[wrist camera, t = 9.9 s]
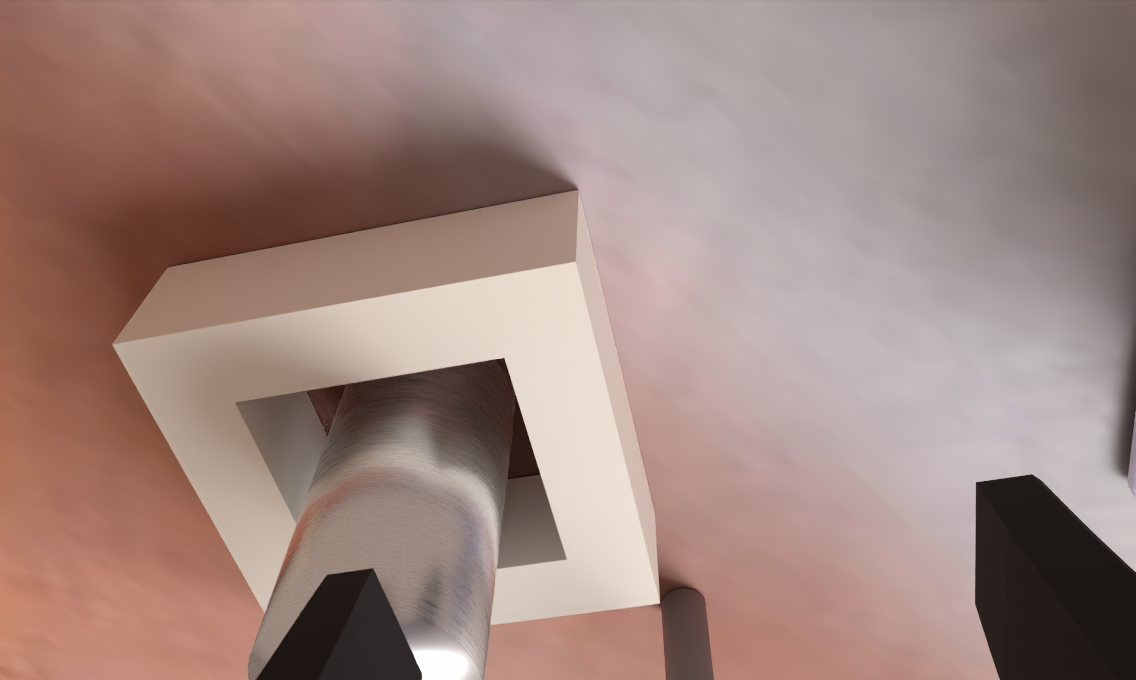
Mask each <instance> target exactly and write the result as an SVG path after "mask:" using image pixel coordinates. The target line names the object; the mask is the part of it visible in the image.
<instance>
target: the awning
mask: <svg viewBox="0 0 1136 680" xmlns="http://www.w3.org/2000/svg"><path fill="white" fill-rule="evenodd" d="M661 608H662V623H663V639H664V655H665V671H666V680H714V677H713V668H712V659H711V650H710V641H709V632H708V622H707V613H706V604H705V599H704V597H703V596H702V595H701V594H700V593H699V592H697V591H695V590H692V589H687V588H681V589H675V590H672V591H670V592H669V593H667V594H666V595H665V596H664V597H663V599H662V602H661Z"/></svg>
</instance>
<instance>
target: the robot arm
mask: <svg viewBox="0 0 1136 680" xmlns="http://www.w3.org/2000/svg"><path fill="white" fill-rule="evenodd" d="M1128 486H1129V488H1130V490H1131V491H1132V493H1133V494H1134V496H1135V497H1136V412H1135V421H1134V430H1133V438H1132V447H1131V455H1130V464H1129V472H1128ZM975 605H976V608H977V611H978V614H979V617H980V620H981V624H982V627H983V630H984V633H985V636H986V639H987V642H988V646H989V649H990V652H991V655H992V658H993V661H994V664H995V667H996V670H997V673H998V676H999V679H1000V680H1136V572H1135V571H1134V570H1133V569H1131V568H1130V567H1129V566H1128V565H1127V564H1126V563H1125V562H1124V561H1123V560H1122V559H1121V558H1120V557H1119V556H1117V555H1116V554H1115V553H1114V552H1113V551H1112V550H1111V549H1110V548H1109V547H1108V546H1107V545H1106V544H1105V543H1104V542H1103V541H1102V540H1101V539H1100V538H1098V537H1097V536H1096V535H1095V534H1094V533H1093V532H1092V531H1091V530H1090V529H1089V528H1088V527H1087V526H1086V525H1085V524H1084V523H1083V522H1082V521H1081V520H1080V519H1079V518H1078V517H1077V516H1076V515H1075V514H1074V513H1073V512H1072V511H1071V510H1070V509H1069V508H1068V507H1067V506H1066V505H1065V504H1064V503H1063V502H1062V501H1061V500H1060V499H1059V498H1058V497H1057V496H1056V495H1055V494H1054V493H1053V492H1052V491H1051V490H1050V489H1049V488H1048V487H1047V486H1046V485H1045V484H1044V483H1043V482H1042V481H1041V480H1040V479H1038V478H1037V477H1035V476H1034V475H1025V476H1018V477H1011V478H1004V479H997V480H990V481H983V482H976V566H975ZM256 680H422V672H421V670H420V667H419V665H418V663H417V661H416V659H415V657H414V655H413V652H412V650H411V648H410V646H409V644H408V642H407V640H406V637H405V635H404V633H403V631H402V629H401V627H400V625H399V622H398V620H397V618H396V616H395V614H394V612H393V609H392V607H391V605H390V603H389V601H388V599H387V597H386V594H385V592H384V590H383V588H382V586H381V584H380V582H379V579H378V577H377V575H376V573H375V571H374V569H373V568H370V569H363V570H356V571H349V572H342V573H335V574H328V575H326V577H325V578H324V579H323V581H322V582H321V584H320V585H319V587H318V588H317V589H316V591H315V592H314V594H313V595H312V597H311V598H310V600H309V601H308V603H307V604H306V605H305V607H304V608H303V610H302V611H301V613H300V614H299V616H298V617H297V619H296V620H295V622H294V623H293V625H292V626H291V628H290V629H289V631H288V632H287V634H286V635H285V637H284V638H283V640H282V641H281V643H280V644H279V646H278V647H277V649H276V650H275V652H274V653H273V655H272V656H271V658H270V659H269V661H268V662H267V664H266V665H265V667H264V668H263V670H262V671H261V673H260V674H259V675H258V677H257V678H256Z"/></svg>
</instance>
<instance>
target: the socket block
mask: <svg viewBox="0 0 1136 680" xmlns="http://www.w3.org/2000/svg"><path fill="white" fill-rule="evenodd" d="M112 345H113V347H114V349H115V351H116V352H117V354H118V356H119V358H120V359H121V361H122V363H123V365H124V367H125V368H126V370H127V372H128V374H129V375H130V377H131V379H132V381H133V382H134V384H135V386H136V388H137V389H138V391H139V393H140V395H141V396H142V398H143V400H144V402H145V403H146V405H147V407H148V409H149V411H150V412H151V414H152V416H153V418H154V419H155V421H156V423H157V425H158V426H159V428H160V430H161V432H162V433H163V435H164V437H165V439H166V440H167V442H168V444H169V446H170V447H171V449H172V451H173V453H174V454H175V456H176V458H177V460H178V462H179V463H180V465H181V467H182V469H183V470H184V472H185V474H186V476H187V477H188V479H189V481H190V483H191V484H192V486H193V488H194V490H195V491H196V493H197V495H198V497H199V498H200V500H201V502H202V504H203V506H204V507H205V509H206V511H207V513H208V514H209V516H210V518H211V520H212V521H213V523H214V525H215V527H216V528H217V530H218V532H219V534H220V535H221V537H222V539H223V541H224V542H225V544H226V546H227V548H228V550H229V551H230V553H231V555H232V557H233V558H234V560H235V562H236V564H237V565H238V567H239V569H240V571H241V572H242V574H243V576H244V578H245V579H246V581H247V583H248V585H249V586H250V588H251V590H252V592H253V593H254V595H255V597H256V599H257V601H258V602H259V604H260V606H261V608H262V609H263V611H264V613H265V612H266V609H267V606H268V603H269V601H270V598H271V595H272V592H273V589H274V586H275V584H276V581H277V578H278V575H279V572H280V569H281V567H282V564H283V561H284V558H285V555H286V552H287V550H288V547H289V544H290V541H291V538H292V535H293V533H294V530H295V527H296V524H297V521H298V519H299V516H300V513H301V510H302V507H303V504H304V502H305V499H306V496H307V493H308V490H309V487H310V485H311V482H312V479H313V476H314V473H315V470H316V468H317V465H318V462H319V459H320V456H321V453H322V451H323V448H324V445H325V442H326V439H327V435H326V433H325V430H324V428H323V426H322V424H321V422H320V419H319V417H318V415H317V413H316V410H315V408H314V406H313V404H312V402H311V399H310V397H309V395H308V393H307V391H308V390H314V389H320V388H326V387H332V386H338V385H344V384H350V383H356V382H362V381H368V380H374V379H380V378H386V377H392V376H398V375H404V374H410V373H416V372H422V371H428V370H434V369H440V368H446V367H452V366H458V365H464V364H470V363H476V362H482V361H488V360H494V359H500V358H505V362H506V365H507V368H508V371H509V374H510V378H511V381H512V384H513V387H514V391H515V394H516V397H517V400H518V403H519V407H520V410H521V413H522V416H523V419H524V423H525V426H526V429H527V432H528V436H529V439H530V442H531V445H532V448H533V452H534V455H535V458H536V461H537V465H538V468H539V471H540V474H541V475H534V476H527V477H520V478H514V479H507V484H506V493H505V502H504V510H503V519H502V528H501V536H500V545H499V554H498V562H497V571H496V580H495V588H494V597H493V605H492V614H491V623H490V625H495V624H503V623H511V622H519V621H527V620H535V619H543V618H550V617H558V616H566V615H574V614H582V613H590V612H598V611H605V610H613V609H621V608H629V607H637V606H645V605H653V604H660V593H659V577H658V561H657V545H656V529H655V513H654V508H653V504H652V500H651V495H650V491H649V487H648V483H647V478H646V474H645V470H644V465H643V461H642V457H641V453H640V448H639V444H638V440H637V436H636V431H635V427H634V423H633V418H632V414H631V410H630V406H629V401H628V397H627V393H626V389H625V384H624V380H623V376H622V372H621V367H620V363H619V359H618V354H617V350H616V346H615V342H614V337H613V333H612V329H611V325H610V320H609V316H608V312H607V307H606V303H605V299H604V295H603V290H602V286H601V282H600V278H599V273H598V269H597V265H596V260H595V256H594V252H593V248H592V243H591V239H590V235H589V231H588V226H587V222H586V218H585V213H584V209H583V205H582V201H581V196H580V192H579V190H575V191H569V192H564V193H559V194H554V195H548V196H543V197H538V198H532V199H527V200H522V201H517V202H511V203H506V204H501V205H495V206H490V207H485V208H480V209H474V210H469V211H464V212H458V213H453V214H448V215H443V216H437V217H432V218H427V219H421V220H416V221H411V222H406V223H400V224H395V225H390V226H384V227H379V228H374V229H369V230H363V231H358V232H353V233H347V234H342V235H337V236H331V237H326V238H321V239H316V240H310V241H305V242H300V243H294V244H289V245H284V246H279V247H273V248H268V249H263V250H257V251H252V252H247V253H242V254H236V255H231V256H226V257H220V258H215V259H210V260H205V261H199V262H194V263H189V264H183V265H178V266H173V267H168V268H167V269H166V270H165V272H164V273H163V275H162V276H161V277H160V279H159V280H158V282H157V283H156V284H155V286H154V287H153V288H152V290H151V291H150V293H149V294H148V295H147V297H146V298H145V300H144V301H143V302H142V304H141V305H140V306H139V308H138V309H137V311H136V312H135V313H134V315H133V316H132V318H131V319H130V320H129V322H128V323H127V324H126V326H125V327H124V329H123V330H122V331H121V333H120V334H119V336H118V337H117V338H116V340H115V341H114V342H113V344H112Z"/></svg>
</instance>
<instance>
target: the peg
mask: <svg viewBox="0 0 1136 680" xmlns="http://www.w3.org/2000/svg"><path fill="white" fill-rule="evenodd" d="M514 415H515V394H514V390H513V386H512V383H511V381H510V379H509V377H508V375H507V373H506V372H505V370H504V369H503V367H502V366H501V365H500V364H499V362H498V361H497V360H496V359H494V360H488V361H482V362H476V363H470V364H464V365H458V366H452V367H446V368H440V369H434V370H428V371H422V372H416V373H410V374H404V375H398V376H392V377H386V378H380V379H374V380H368V381H362V382H356V383H350V384H346V386H345V388H344V391H343V394H342V397H341V400H340V403H339V405H338V408H337V411H336V414H335V417H334V420H333V422H332V425H331V428H330V431H329V434H328V436H327V439H326V442H325V445H324V448H323V451H322V453H321V456H320V459H319V462H318V465H317V468H316V470H315V473H314V476H313V479H312V482H311V485H310V487H309V490H308V493H307V496H306V499H305V502H304V504H303V507H302V510H301V513H300V516H299V519H298V521H297V524H296V527H295V530H294V533H293V535H292V538H291V541H290V544H289V547H288V550H287V552H286V555H285V558H284V561H283V564H282V567H281V569H280V572H279V575H278V578H277V581H276V584H275V586H274V589H273V592H272V595H271V598H270V601H269V603H268V606H267V609H266V612H265V615H264V617H263V620H262V623H261V626H260V629H259V632H258V634H257V637H256V640H255V643H254V646H253V649H252V651H251V654H250V658H249V663H248V676H249V680H256V678H257V677H258V675H259V674H260V673H261V671H262V670H263V668H264V667H265V665H266V664H267V662H268V661H269V659H270V658H271V656H272V655H273V653H274V652H275V650H276V649H277V647H278V646H279V644H280V643H281V641H282V640H283V638H284V637H285V635H286V634H287V632H288V631H289V629H290V628H291V626H292V625H293V623H294V622H295V620H296V619H297V617H298V616H299V614H300V613H301V611H302V610H303V608H304V607H305V605H306V604H307V603H308V601H309V600H310V598H311V597H312V595H313V594H314V592H315V591H316V589H317V588H318V587H319V585H320V584H321V582H322V581H323V579H324V578H325V577H326V575H328V574H335V573H342V572H349V571H356V570H363V569H370V568H373V569H374V571H375V573H376V575H377V577H378V579H379V582H380V584H381V586H382V588H383V590H384V592H385V594H386V597H387V599H388V601H389V603H390V605H391V607H392V609H393V612H394V614H395V616H396V618H397V620H398V622H399V625H400V627H401V629H402V631H403V633H404V635H405V637H406V640H407V642H408V644H409V646H410V648H411V650H412V652H413V655H414V657H415V659H416V661H417V663H418V665H419V667H420V670H421V672H422V680H484V675H485V666H486V657H487V649H488V640H489V631H490V623H491V614H492V605H493V597H494V588H495V580H496V571H497V562H498V554H499V545H500V536H501V528H502V519H503V510H504V502H505V493H506V484H507V476H508V467H509V459H510V450H511V441H512V433H513V424H514Z"/></svg>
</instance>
